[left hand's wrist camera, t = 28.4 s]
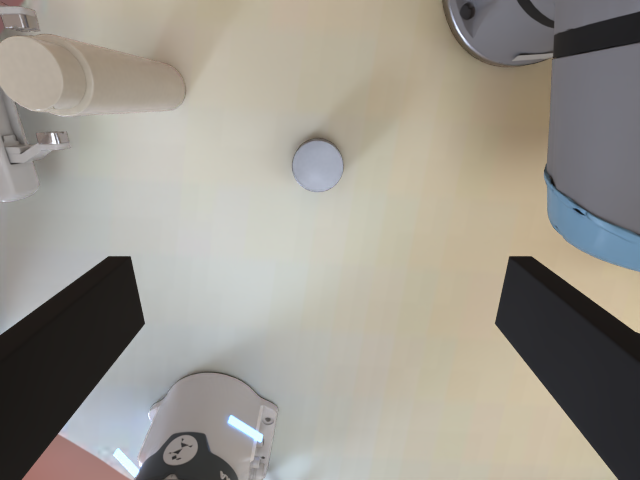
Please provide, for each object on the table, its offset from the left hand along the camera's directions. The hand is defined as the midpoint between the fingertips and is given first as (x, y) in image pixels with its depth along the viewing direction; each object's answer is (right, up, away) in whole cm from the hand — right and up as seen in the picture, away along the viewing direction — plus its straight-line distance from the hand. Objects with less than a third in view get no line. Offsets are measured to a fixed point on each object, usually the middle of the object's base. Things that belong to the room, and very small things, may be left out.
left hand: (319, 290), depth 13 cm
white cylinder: (-16, +18, +24) cm, 34 cm away
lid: (0, +10, +25) cm, 27 cm away
